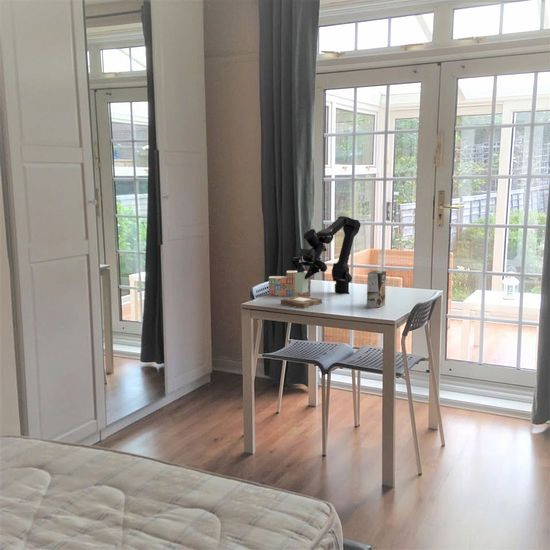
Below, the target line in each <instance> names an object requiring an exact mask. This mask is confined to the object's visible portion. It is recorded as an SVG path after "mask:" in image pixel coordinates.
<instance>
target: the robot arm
mask: <svg viewBox="0 0 550 550" xmlns="http://www.w3.org/2000/svg"><path fill="white" fill-rule="evenodd" d="M341 229H342V231H343V241H342V245H341V248H340V252H339V257H338V261H337V262H336V263H335V262H334V263H333V265H332V269H331V276H332V281H333V282H335V283H334V293H336V294H337V295H344V294H345V295H346V294H348V295H349V294H350V292H349V291H350V288H349V287H350V285H349V283H351V282H352V280H353V276H352V275H351V273H350V266H349V265H348V263H349V260H350V259H349V258H350V255H351V251H352V247H353V244H354V238H355V237H356V236H357V235H358V233H359V232H360V229H361V222H360V221H359V219H354V218H352V217H351V218H350V217H349V216H345V215H340V216H338V217H337V219H336V220H335V221H334V222H332V223H331V224H330V225H329V226H327V228H324V229H320V230H319V231H317V232H316V230H315V229H314V228H311V229H309V230H308V231H306V232H305V233H304V234H303V240H304V241H305V242H306V244H308V246H309V247H311V248H309V249H308V248H299V252H298V256H301V257H302V259H303V260H302V259H301V258H300V257H295V256H294V257H292V258H291V260H290V263H291V264H292V266H294V268H295V269H296V271H297V273H299V272H304V271H307V273H306V275H305V279H307V278H309V277H312V276H314V275H316V274H317V273H320V272H323V273H326V271H327V270H328V265H327V264H326V263H325V261H324V260H322V258H321V255H322V254H323V252H327V250H328V249H327V247H326V244H330V243H331V242H332V241H333V240H334V237H335V235H336V234H337V233H338V232H339V231H340V230H341ZM305 267H308V270H306V268H305Z"/></svg>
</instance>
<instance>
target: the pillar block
mask: <svg viewBox="0 0 550 550" xmlns="http://www.w3.org/2000/svg"><path fill="white" fill-rule="evenodd" d="M305 275H306V273H304V272H299V273H295V292H299V293H305V292H308V278H307V279H305Z"/></svg>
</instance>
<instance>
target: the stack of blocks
mask: <svg viewBox="0 0 550 550" xmlns="http://www.w3.org/2000/svg"><path fill="white" fill-rule="evenodd" d="M307 271H308V270H305V271H304V273H307ZM295 273H297V270H286V275H285V276H283V275H282V276H281V275H277V276H276V275H272V276H271V275H270V276H269V277H268V296H269V295H279V296H281V297H295V296H305V297H311V284H312V283H311V280H312V279H311V277H312V276H310V277H309V278H308V292H305V293H299V292H295ZM279 296H278V297H279Z"/></svg>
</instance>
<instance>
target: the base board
mask: <svg viewBox="0 0 550 550" xmlns="http://www.w3.org/2000/svg"><path fill="white" fill-rule="evenodd" d="M322 302H323V299H322V298H316V297H311V296H290V297H287V298H283V299H280V305H283V304H286V305H285V306H289V305H290V307H294V306H296V307H295V308H300V307H301V308H302V309H306V308H310V307H313V305H314V306H317V305H321V304H323V303H322ZM320 303H321V304H320ZM316 304H317V305H316ZM309 306H310V307H309ZM305 307H306V308H305Z"/></svg>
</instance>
